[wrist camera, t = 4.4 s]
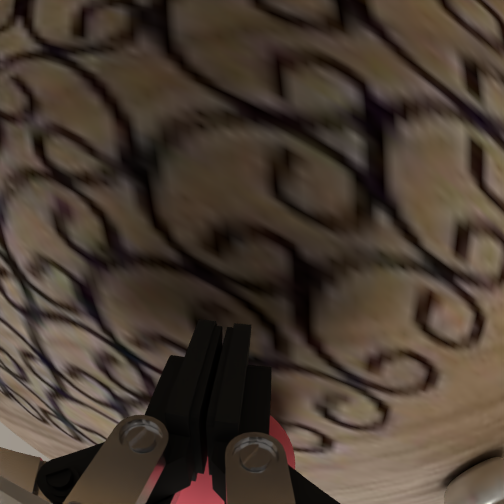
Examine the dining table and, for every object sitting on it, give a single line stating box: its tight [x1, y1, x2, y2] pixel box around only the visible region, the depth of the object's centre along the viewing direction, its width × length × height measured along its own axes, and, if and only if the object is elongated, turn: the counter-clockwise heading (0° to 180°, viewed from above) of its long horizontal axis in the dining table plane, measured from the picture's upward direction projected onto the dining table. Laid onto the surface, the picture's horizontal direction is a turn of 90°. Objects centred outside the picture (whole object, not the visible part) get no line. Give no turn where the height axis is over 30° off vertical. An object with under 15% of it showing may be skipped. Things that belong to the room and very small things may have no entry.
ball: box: [176, 415, 295, 504], centre depth 11 cm, size 6×6×6 cm
